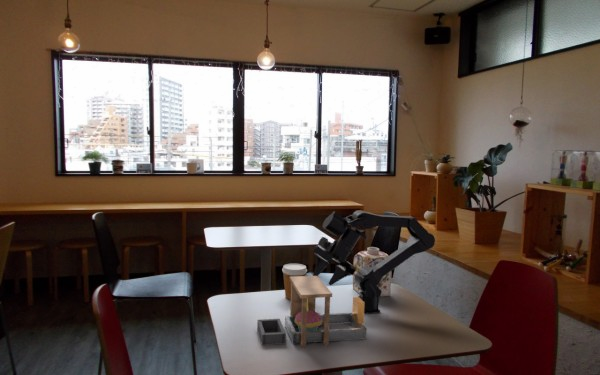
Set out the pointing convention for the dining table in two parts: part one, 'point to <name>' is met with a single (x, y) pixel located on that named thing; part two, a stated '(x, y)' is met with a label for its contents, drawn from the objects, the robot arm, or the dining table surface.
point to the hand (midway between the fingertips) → (321, 280)
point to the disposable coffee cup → (292, 271)
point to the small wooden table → (309, 302)
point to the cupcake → (309, 320)
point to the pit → (271, 331)
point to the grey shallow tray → (334, 335)
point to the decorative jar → (372, 259)
